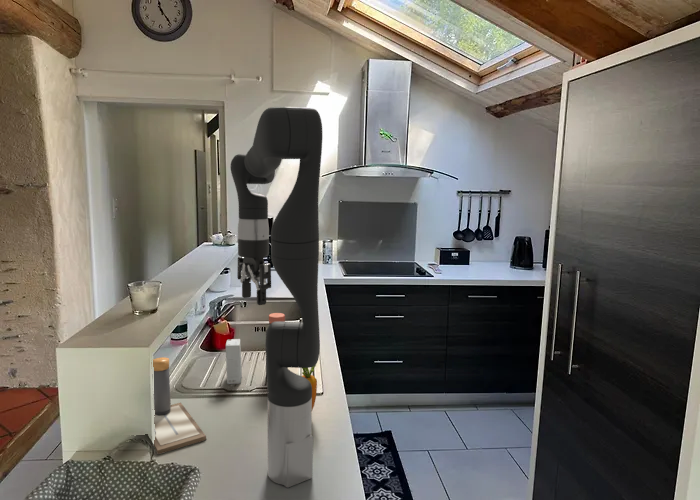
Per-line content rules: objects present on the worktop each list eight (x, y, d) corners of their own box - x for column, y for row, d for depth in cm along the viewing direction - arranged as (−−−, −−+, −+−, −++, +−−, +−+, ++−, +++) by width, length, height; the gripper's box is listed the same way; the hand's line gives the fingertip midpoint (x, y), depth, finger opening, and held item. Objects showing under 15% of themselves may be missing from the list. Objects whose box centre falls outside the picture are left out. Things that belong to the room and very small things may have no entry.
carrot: (316, 412, 129) (317, 359, 126) (316, 422, 124) (316, 367, 121) (298, 412, 129) (298, 359, 126) (296, 422, 124) (297, 366, 121)
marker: (173, 413, 124) (171, 361, 122) (156, 417, 122) (153, 364, 120) (168, 406, 128) (166, 356, 126) (152, 411, 125) (149, 359, 123)
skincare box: (241, 383, 145) (240, 345, 143) (226, 384, 144) (225, 346, 142) (242, 375, 151) (241, 338, 149) (227, 376, 150) (226, 338, 148)
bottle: (276, 370, 155) (276, 310, 152) (292, 375, 152) (292, 314, 148) (261, 377, 150) (260, 315, 147) (277, 383, 146) (277, 319, 143)
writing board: (206, 439, 115) (205, 432, 114) (157, 454, 108) (156, 447, 108) (180, 405, 131) (180, 399, 130) (136, 417, 124) (136, 410, 124)
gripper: (280, 239, 115) (280, 305, 118) (254, 233, 126) (254, 293, 129) (252, 241, 111) (252, 309, 113) (227, 234, 122) (228, 296, 124)
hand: (253, 300), depth 121 cm, fingers open, 8 cm apart
